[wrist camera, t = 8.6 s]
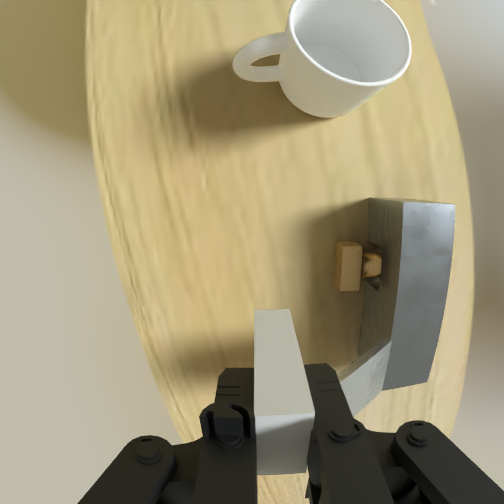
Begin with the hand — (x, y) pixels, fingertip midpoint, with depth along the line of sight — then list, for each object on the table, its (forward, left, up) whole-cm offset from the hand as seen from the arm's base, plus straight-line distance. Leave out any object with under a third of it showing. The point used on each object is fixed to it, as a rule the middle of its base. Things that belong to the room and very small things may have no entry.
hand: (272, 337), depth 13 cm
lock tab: (+7, +6, -5) cm, 11 cm away
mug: (-17, +4, -15) cm, 23 cm away
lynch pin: (+1, +13, -15) cm, 20 cm away
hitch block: (+2, +12, -15) cm, 20 cm away
